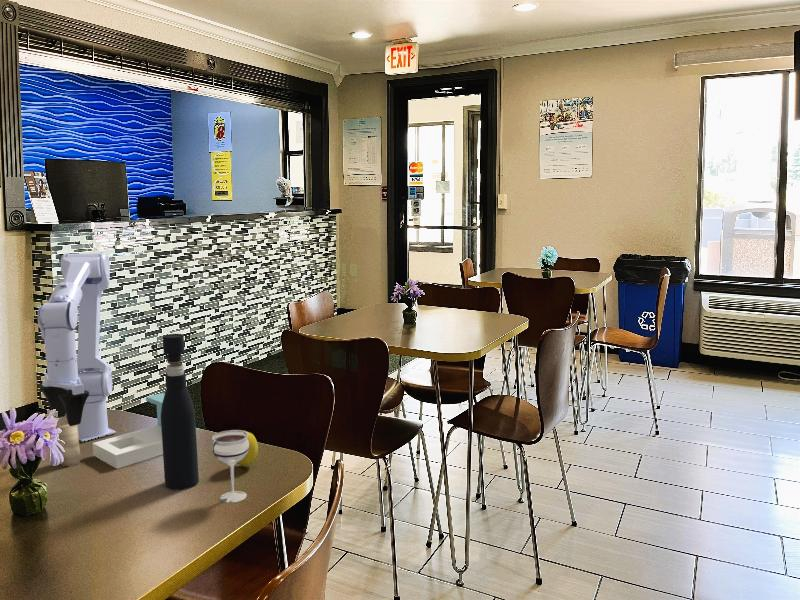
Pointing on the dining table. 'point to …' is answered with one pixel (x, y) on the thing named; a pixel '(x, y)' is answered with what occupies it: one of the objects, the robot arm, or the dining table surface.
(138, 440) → the socket block
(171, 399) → the wine bottle
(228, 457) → the wineglass
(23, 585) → the dining table surface
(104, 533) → the dining table surface
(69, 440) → the peg
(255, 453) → the lemon
